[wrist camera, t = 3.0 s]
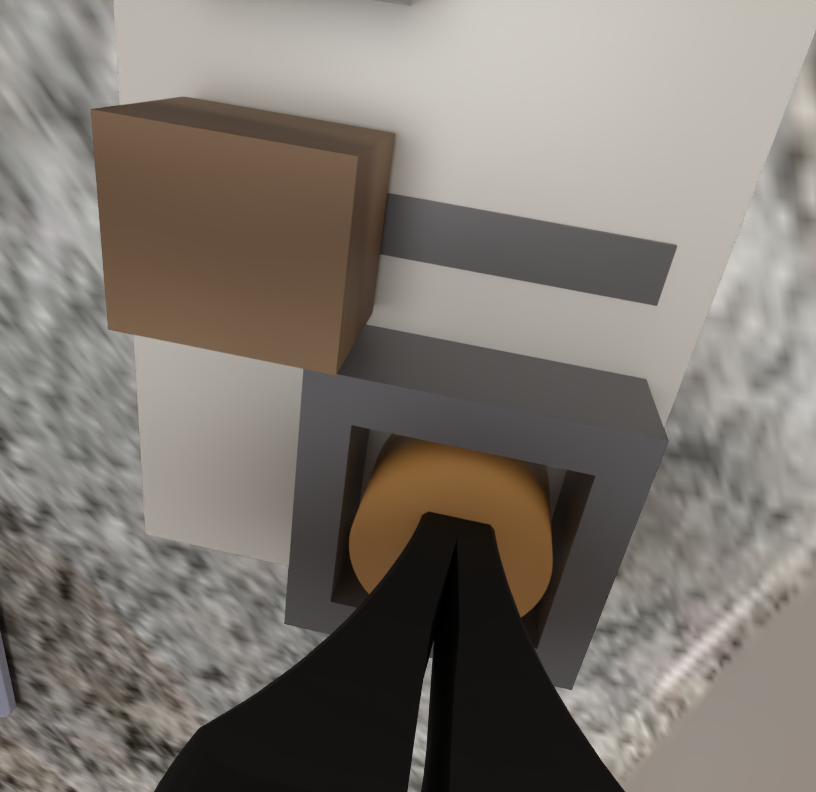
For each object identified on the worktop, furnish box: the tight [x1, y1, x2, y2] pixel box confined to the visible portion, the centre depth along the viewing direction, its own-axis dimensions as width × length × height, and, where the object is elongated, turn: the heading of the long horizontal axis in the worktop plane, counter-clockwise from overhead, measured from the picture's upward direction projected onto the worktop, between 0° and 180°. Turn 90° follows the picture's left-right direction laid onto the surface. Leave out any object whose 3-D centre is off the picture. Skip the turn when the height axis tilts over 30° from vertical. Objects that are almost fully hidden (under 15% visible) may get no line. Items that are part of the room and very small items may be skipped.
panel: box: [114, 0, 816, 690], centre depth 13 cm, size 17×12×4 cm
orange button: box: [349, 434, 553, 617], centre depth 14 cm, size 4×4×2 cm
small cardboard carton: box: [91, 96, 395, 375], centre depth 12 cm, size 4×4×3 cm
